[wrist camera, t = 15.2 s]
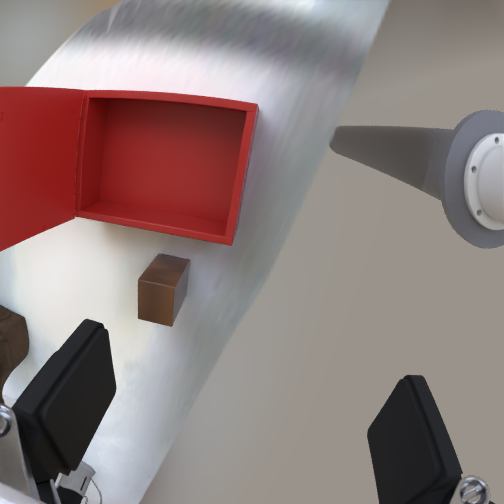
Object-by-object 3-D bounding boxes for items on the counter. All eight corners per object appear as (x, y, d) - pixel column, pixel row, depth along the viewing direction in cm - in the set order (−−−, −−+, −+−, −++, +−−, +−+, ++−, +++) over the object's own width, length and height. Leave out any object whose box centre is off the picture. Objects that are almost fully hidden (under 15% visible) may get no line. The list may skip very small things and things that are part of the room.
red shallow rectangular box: (259, 107, 31) (257, 103, 26) (236, 229, 36) (231, 246, 31) (107, 93, 30) (84, 90, 25) (96, 204, 35) (74, 216, 30)
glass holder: (64, 453, 62) (45, 492, 48) (107, 469, 62) (91, 512, 48) (73, 468, 66) (57, 504, 52) (115, 482, 65) (101, 522, 52)
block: (190, 259, 37) (174, 287, 31) (186, 295, 39) (172, 327, 33) (158, 253, 37) (137, 279, 31) (156, 288, 39) (137, 318, 33)
